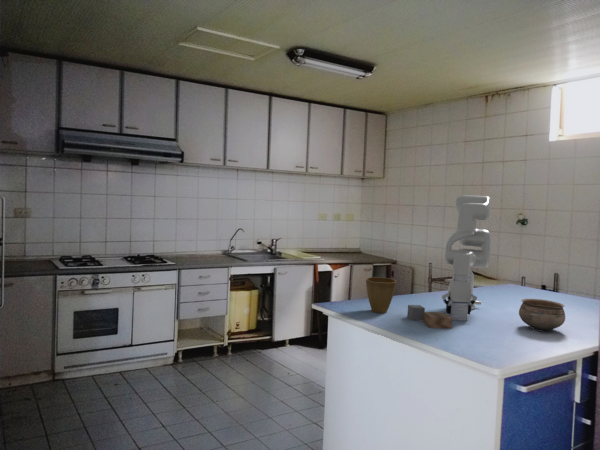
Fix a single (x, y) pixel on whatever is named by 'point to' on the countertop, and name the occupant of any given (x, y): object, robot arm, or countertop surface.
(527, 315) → the cooking pot
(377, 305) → the plant pot
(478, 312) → the countertop surface
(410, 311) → the charcoal cube
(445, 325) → the walnut block
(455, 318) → the medicine box
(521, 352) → the countertop surface
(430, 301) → the countertop surface
